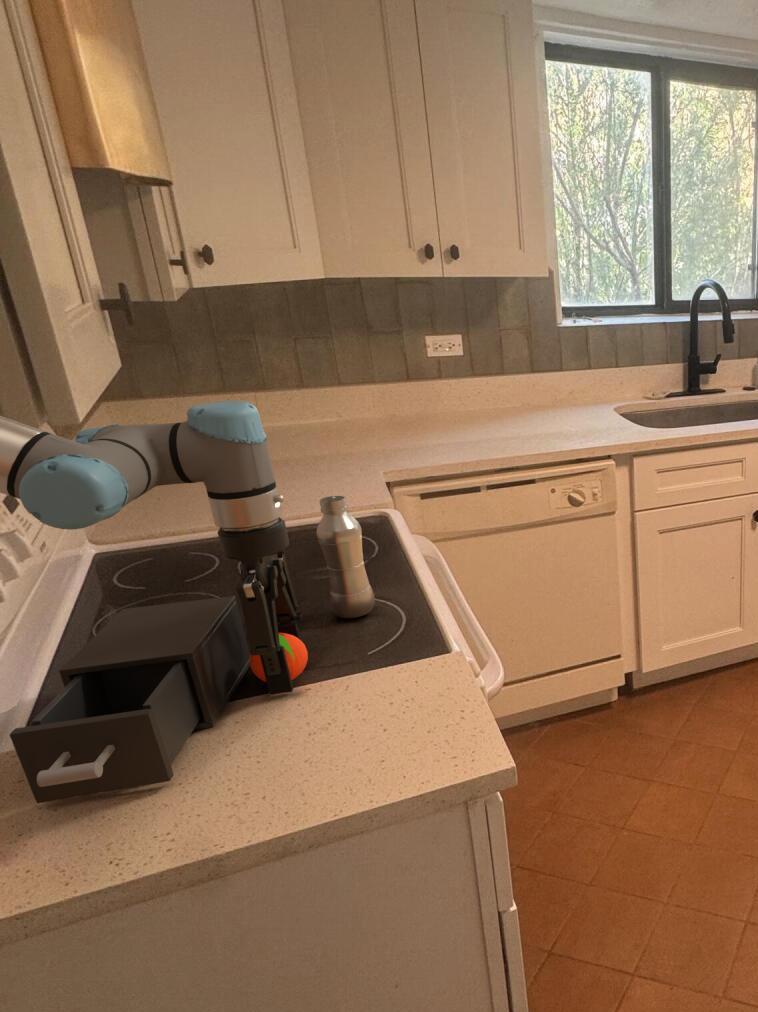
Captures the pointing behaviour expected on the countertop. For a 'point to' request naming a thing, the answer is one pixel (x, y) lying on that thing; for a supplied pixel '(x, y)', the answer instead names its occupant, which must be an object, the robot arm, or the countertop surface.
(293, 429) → the countertop surface
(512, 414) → the countertop surface
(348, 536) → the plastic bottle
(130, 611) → the dark drawer cabinet
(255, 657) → the clementine
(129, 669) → the open grey drawer
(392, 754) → the countertop surface
